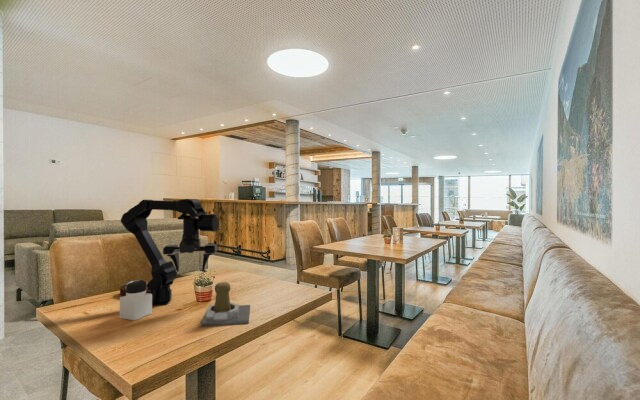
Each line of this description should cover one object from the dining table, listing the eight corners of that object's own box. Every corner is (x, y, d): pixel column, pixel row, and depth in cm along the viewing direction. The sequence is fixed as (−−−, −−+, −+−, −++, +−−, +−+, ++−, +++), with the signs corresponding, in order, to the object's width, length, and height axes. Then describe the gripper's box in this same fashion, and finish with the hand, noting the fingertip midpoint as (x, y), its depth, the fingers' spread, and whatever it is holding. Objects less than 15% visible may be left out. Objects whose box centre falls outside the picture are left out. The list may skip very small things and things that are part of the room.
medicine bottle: (152, 313, 108) (152, 280, 108) (134, 321, 101) (134, 285, 101) (137, 311, 110) (137, 278, 110) (118, 318, 103) (119, 283, 104)
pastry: (116, 294, 130) (116, 280, 130) (146, 288, 139) (147, 275, 139) (125, 299, 123) (125, 285, 123) (156, 293, 132) (156, 279, 132)
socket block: (201, 326, 97) (201, 315, 97) (208, 309, 112) (208, 300, 112) (248, 323, 100) (248, 312, 100) (250, 307, 115) (250, 298, 115)
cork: (211, 313, 106) (211, 282, 106) (229, 310, 109) (229, 279, 109) (215, 319, 101) (215, 286, 101) (233, 315, 104) (233, 283, 104)
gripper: (158, 233, 108) (157, 277, 108) (213, 232, 112) (212, 275, 112) (167, 230, 119) (167, 270, 119) (217, 230, 122) (216, 268, 122)
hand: (190, 271), depth 118 cm, fingers open, 9 cm apart
